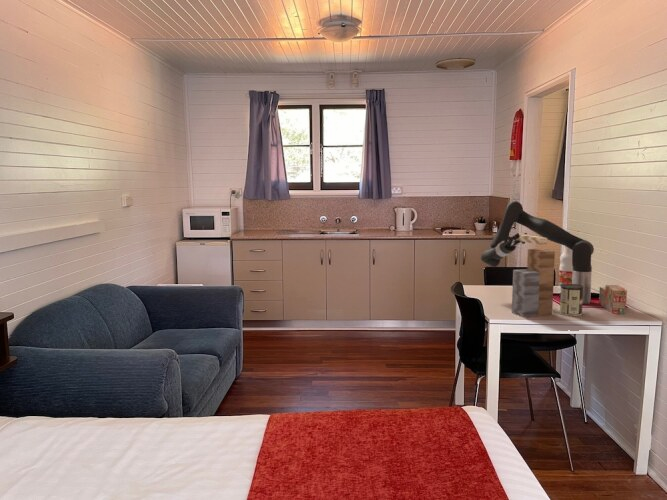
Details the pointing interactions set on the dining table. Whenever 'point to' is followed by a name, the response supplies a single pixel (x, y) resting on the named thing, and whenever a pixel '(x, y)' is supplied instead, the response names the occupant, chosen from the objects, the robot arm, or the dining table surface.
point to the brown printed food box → (613, 298)
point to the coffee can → (571, 299)
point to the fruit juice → (565, 267)
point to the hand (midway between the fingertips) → (522, 234)
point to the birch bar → (532, 239)
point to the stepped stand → (534, 285)
